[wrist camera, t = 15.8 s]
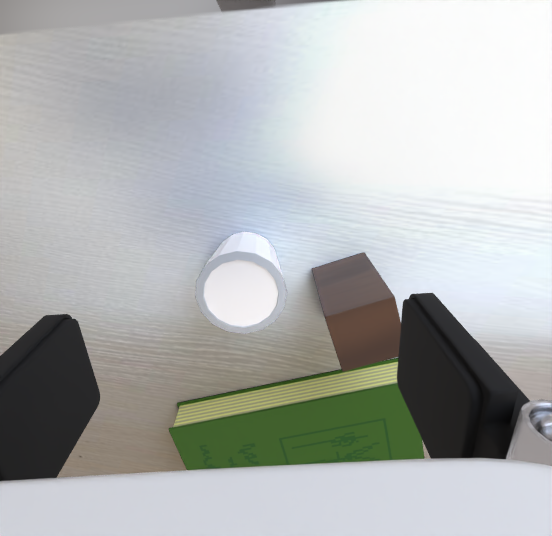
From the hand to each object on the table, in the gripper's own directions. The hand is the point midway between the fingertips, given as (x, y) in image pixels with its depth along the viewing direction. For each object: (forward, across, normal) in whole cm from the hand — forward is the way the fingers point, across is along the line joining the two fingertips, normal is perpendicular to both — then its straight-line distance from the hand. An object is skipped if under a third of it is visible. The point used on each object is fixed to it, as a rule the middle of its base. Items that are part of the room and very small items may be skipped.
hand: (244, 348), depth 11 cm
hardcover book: (+23, -3, +29) cm, 37 cm away
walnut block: (+23, -7, +9) cm, 26 cm away
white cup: (+23, +2, +6) cm, 24 cm away
